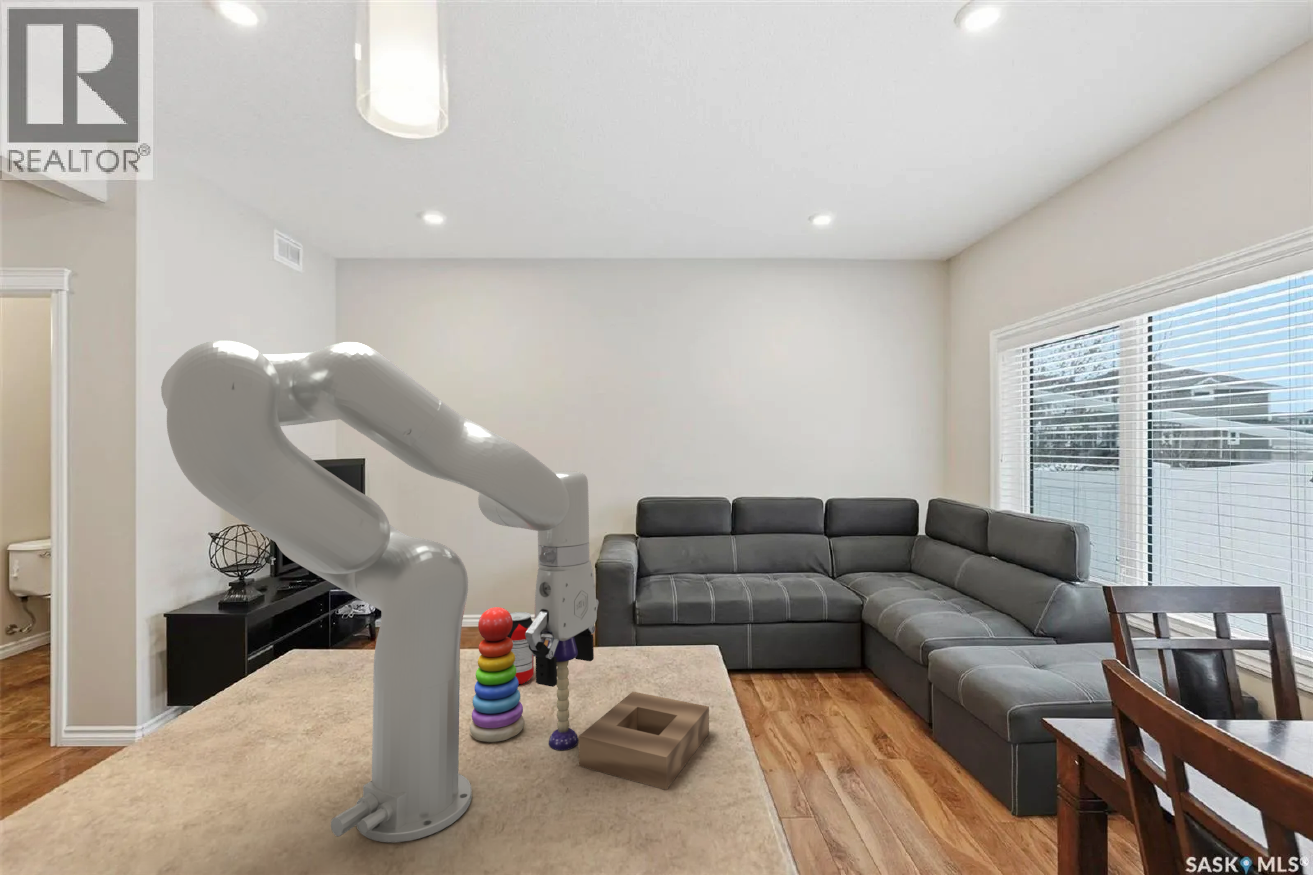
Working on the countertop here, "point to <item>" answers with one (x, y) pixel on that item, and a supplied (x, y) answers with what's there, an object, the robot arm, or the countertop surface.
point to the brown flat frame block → (645, 739)
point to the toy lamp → (563, 697)
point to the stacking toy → (496, 681)
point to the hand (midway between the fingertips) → (566, 671)
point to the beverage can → (521, 646)
